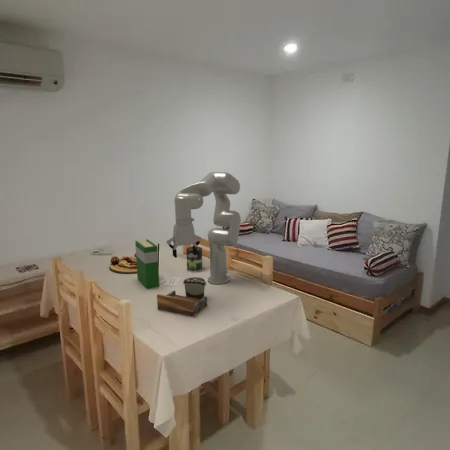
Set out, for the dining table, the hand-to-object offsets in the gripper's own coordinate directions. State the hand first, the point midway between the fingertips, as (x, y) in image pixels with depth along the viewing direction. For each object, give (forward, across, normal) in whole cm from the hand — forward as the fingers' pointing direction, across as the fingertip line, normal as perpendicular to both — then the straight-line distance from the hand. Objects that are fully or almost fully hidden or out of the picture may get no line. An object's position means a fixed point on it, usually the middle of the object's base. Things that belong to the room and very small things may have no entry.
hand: (184, 255), depth 177 cm
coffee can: (+26, -21, -49) cm, 59 cm away
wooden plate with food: (+27, +14, -73) cm, 79 cm away
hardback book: (+26, +12, -38) cm, 47 cm away
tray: (+25, +3, +3) cm, 26 cm away
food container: (+26, -8, -7) cm, 28 cm away
